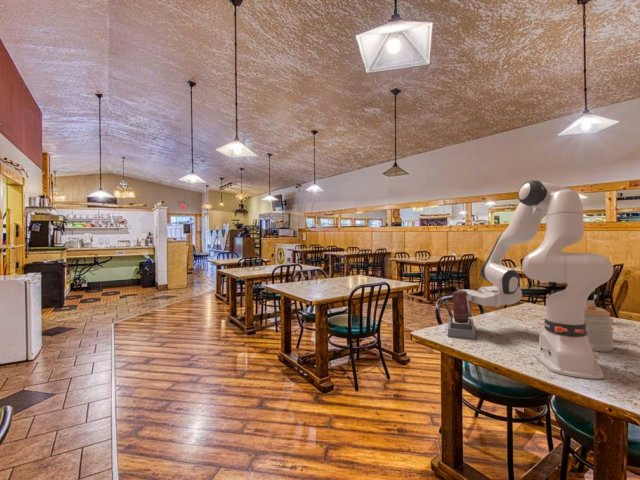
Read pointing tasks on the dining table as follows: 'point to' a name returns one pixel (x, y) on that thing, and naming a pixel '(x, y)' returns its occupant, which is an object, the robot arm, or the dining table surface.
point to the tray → (461, 329)
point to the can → (460, 306)
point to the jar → (599, 328)
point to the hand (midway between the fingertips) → (459, 297)
